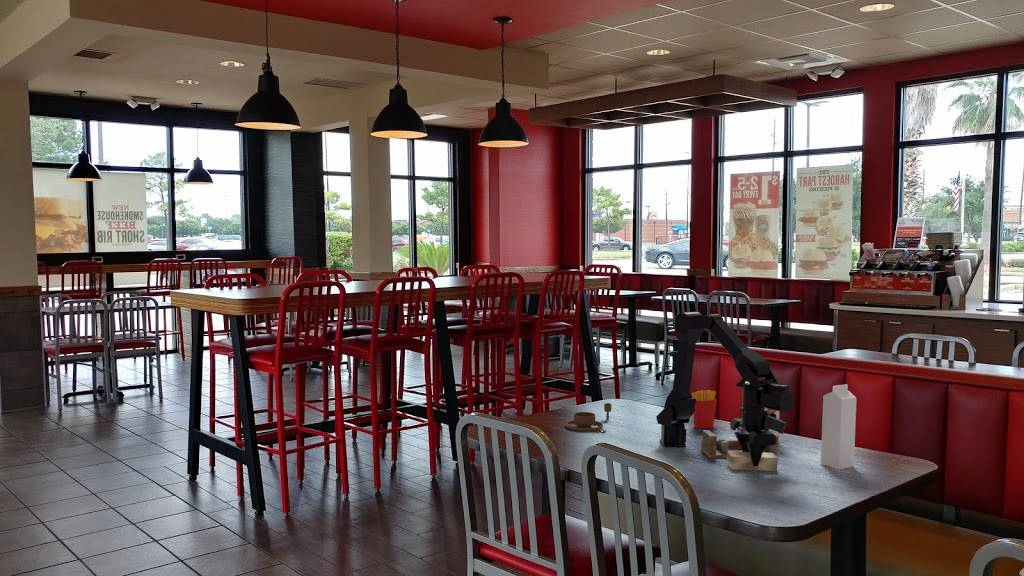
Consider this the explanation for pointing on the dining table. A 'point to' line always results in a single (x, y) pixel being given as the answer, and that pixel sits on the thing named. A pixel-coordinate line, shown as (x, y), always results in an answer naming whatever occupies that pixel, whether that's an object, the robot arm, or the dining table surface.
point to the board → (744, 461)
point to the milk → (838, 428)
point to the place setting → (588, 420)
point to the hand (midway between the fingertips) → (751, 463)
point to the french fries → (704, 409)
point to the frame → (724, 446)
